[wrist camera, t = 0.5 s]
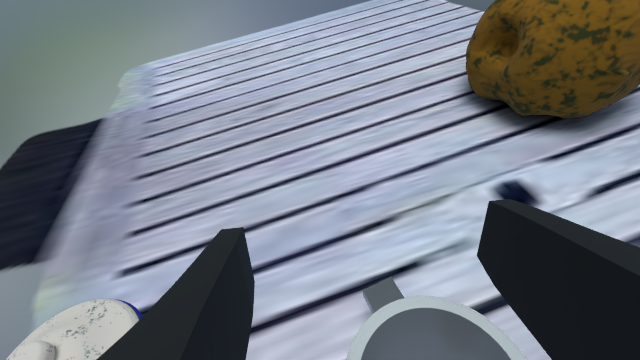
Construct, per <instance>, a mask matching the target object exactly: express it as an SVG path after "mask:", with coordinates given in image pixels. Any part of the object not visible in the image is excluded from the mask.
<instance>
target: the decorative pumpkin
mask: <svg viewBox="0 0 640 360" xmlns="http://www.w3.org/2000/svg"><path fill="white" fill-rule="evenodd" d="M466 60H467V62H466V72H467V74H468V81H469V84H470V86H471V88H472V90H473V91H474V92H475V93H476V94H478V95H479V96H481V97H483V98H485V99H489V100H501V101H503V102H505V103H507V104H508V105H509V106H510V107H511V108H512V109H513V110H514V111H515V112H516V113H517V114H520V115H522V116H526V115H552V116H558V117H561V118H573V117H582V116H587V115H590V114H592V113H594V112H596V111H598V110H600V109H602V108H604V107H607V106H609V105H611V104H613V103H615V102H616V101H618V100H620V99H622V98H623V97H625V96H626V95H628V94H629V93H631V92H632V91H633V90H634V89H635V88H637V87H638V86H639V85H640V0H495V1H494V2H493V3H492V4H491V5H490V7H489V8H488V9H487V10H486V11H485V13H484V14H483V15H482V17H481V18H480V20H479V22H478V24H477V26H476V28H475V31H474V33H473V35H472V37H471V40H470V42H469V44H468V47H467V52H466Z"/></svg>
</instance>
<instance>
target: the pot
mask: <svg viewBox="0 0 640 360" xmlns="http://www.w3.org/2000/svg"><path fill="white" fill-rule="evenodd" d="M363 296H364V298H365V300H366V302H367V304H368V306H369V308H370V310H371V312H372V315H371V316H370V317H369V318H368V319H367V320H366V321H365V323H364V324H363V325H362V327H361V328H360V329H359V331H358V332H357V334H356V336H355V338H354V340H353V342H352V344H351V347H350V349H349V352H348V356H347V360H527V359H526V357H525V356H524V355H523V353H522V352H521V351H520V349H519V348H518V347H517V346H516V344H515V343H514V342H513V341H512V340H511V339H510V338H509V337H508V336H507V335H506V334H505V333H504V332H503V331H502V330H501V329H500V328H499V327H498V326H497V325H495V324H494V323H493V322H491V321H490V320H489V319H487V318H486V317H485V316H483V315H481V314H480V313H478V312H477V311H475V310H473V309H471V308H469V307H467V306H465V305H463V304H460V303H457V302H455V301H452V300H448V299H444V298H439V297H432V296H415V297H407V298H404V297H403V295H402V294H401V292H400V290H399V289H398V287H397V286H396V284H395V282H394V281H393V279H392V278H391V277H390V278H388V279H386V280H384V281H381V282H379V283H377V284H375V285H373V286H370V287H368V288H366V289H364V290H363Z"/></svg>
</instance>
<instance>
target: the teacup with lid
mask: <svg viewBox="0 0 640 360" xmlns="http://www.w3.org/2000/svg"><path fill="white" fill-rule="evenodd" d="M142 317H143V316H142V315H141V313H140V312H139V311H138V310H137V308H135V307H134V306H133V305H131V304H129V303H127V302H125V301H121V300H114V299H97V300H91V301H87V302H83V303H80V304H78V305H75V306H73V307H71V308H68V309H66V310H64V311H62V312H61V313H59V314H57V315H56V316H54V317H52V318H51V319H49V320H48V321H46V322H45V323H44V324H42V325H41V326H40V327H38V328H37V329H36V330H35V331H34V332H32V333H31V334H30V335H29V336H28V337H27V338H26V339H25V340H24V341H23V342H22V343H21V344H20V345H19V346H18V347H17V348H16V349H15V350H14V351H13V352H12V353H11V354H10V356H9V357H8V358H7V359H6V360H96V359H98V358H99V357H100V356H101V355H102V354H103V353H104V352H105V351H106V350H108V349H109V348H110V347H111V346H112V345H113V344H114V343H115V342H117V341H118V340H119V339H120V338H121V337H122V336H123V335H124V334H125V333H126V332H127V331H128V330H129V329H131V328H132V327H133V326H134V325H135V324H136V323H137V322H138V321H139V320H140V319H141V318H142Z"/></svg>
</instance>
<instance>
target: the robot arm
mask: <svg viewBox="0 0 640 360" xmlns="http://www.w3.org/2000/svg"><path fill="white" fill-rule="evenodd" d="M477 256H478V258H479V260H480V262H481V264H482V265H483V267H484V269H485V271H486V273H487V274H488V276H489V277H490V279H491V281H492V282H493V284H494V286H495V287H496V288H497V290H498V291H499V292H500V294H501V295H502V296H503V298H504V299H505V300H506V301H507V303H508V304H509V305H510V307H511V308H512V309H513V311H514V312H515V313H516V314H517V316H518V317H519V318H520V319H521V321H522V322H523V323H524V325H525V326H526V327H527V328H528V330H529V331H530V332H531V333H532V335H533V336H534V337H535V339H536V340H537V341H538V342H539V344H540V345H541V346H542V347H543V349H544V350H545V351H546V353H547V354H548V355H549V356H550V358H551V359H552V360H640V248H639V247H637V246H634V245H631V244H628V243H626V242H623V241H620V240H618V239H615V238H612V237H609V236H607V235H604V234H602V233H599V232H596V231H594V230H591V229H589V228H586V227H584V226H581V225H578V224H576V223H573V222H571V221H568V220H566V219H563V218H561V217H558V216H555V215H553V214H550V213H548V212H545V211H543V210H540V209H537V208H534V207H532V206H529V205H526V204H523V203H520V202H517V201H514V200H510V199H506V200H496V201H489V204H488V208H487V213H486V217H485V222H484V226H483V231H482V235H481V240H480V244H479V248H478V253H477ZM254 283H255V281H254V276H253V272H252V267H251V262H250V257H249V253H248V248H247V243H246V238H245V234H244V229H243V227H241V228H232V229H222V230H221V231H220V232H219V233H218V234H217V235H216V236H215V237H214V238H213V240H212V241H211V242H210V243H209V244H208V246H207V247H206V248H205V249H204V250H203V251H202V253H201V254H200V255H199V256H198V257H197V259H196V260H195V261H194V262H193V263H192V264H191V266H190V267H189V268H188V269H187V270H186V271H185V272H184V273H183V275H182V276H181V277H180V278H179V279H178V280H177V281H176V282H175V284H174V285H173V286H172V287H171V288H170V289H169V290H168V291H167V292H166V293H165V294H164V295H163V296H162V297H161V298H160V299H159V300H158V301H157V303H156V304H155V305H154V306H153V307H152V308H151V309H150V310H149V311H148V312H147V313H146V314H145V315H144V316H143V317H142V318H141V319H140V320H139V321H138V322H137V323H136V324H135V325H134V326H133V327H132V328H131V329H129V330H128V331H127V332H126V333H125V334H124V335H123V336H122V337H121V338H120V339H119V340H118V341H117V342H115V343H114V344H113V345H112V346H111V347H110V348H109V349H108V350H106V351H105V352H104V353H103V354H102V355H101V356H100V357H99V358H98V359H96V360H246V354H247V348H248V342H249V336H250V330H251V324H252V317H253V304H254Z"/></svg>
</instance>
